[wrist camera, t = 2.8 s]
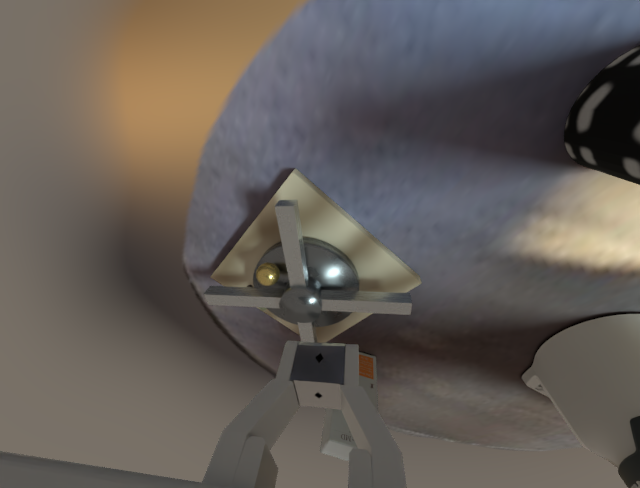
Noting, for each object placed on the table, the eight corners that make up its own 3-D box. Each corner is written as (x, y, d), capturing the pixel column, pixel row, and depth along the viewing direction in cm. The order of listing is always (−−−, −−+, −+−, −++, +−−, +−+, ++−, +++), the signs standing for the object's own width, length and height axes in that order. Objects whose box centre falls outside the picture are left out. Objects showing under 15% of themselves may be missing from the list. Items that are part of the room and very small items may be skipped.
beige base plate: (419, 276, 27) (422, 284, 26) (318, 340, 36) (317, 348, 35) (295, 168, 23) (291, 172, 22) (215, 271, 32) (209, 278, 30)
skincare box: (376, 354, 36) (382, 456, 26) (366, 369, 38) (368, 467, 28) (337, 343, 36) (328, 440, 26) (330, 359, 38) (318, 453, 28)
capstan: (413, 284, 26) (421, 314, 23) (316, 345, 34) (311, 373, 31) (293, 182, 22) (280, 199, 19) (215, 278, 30) (196, 303, 27)
